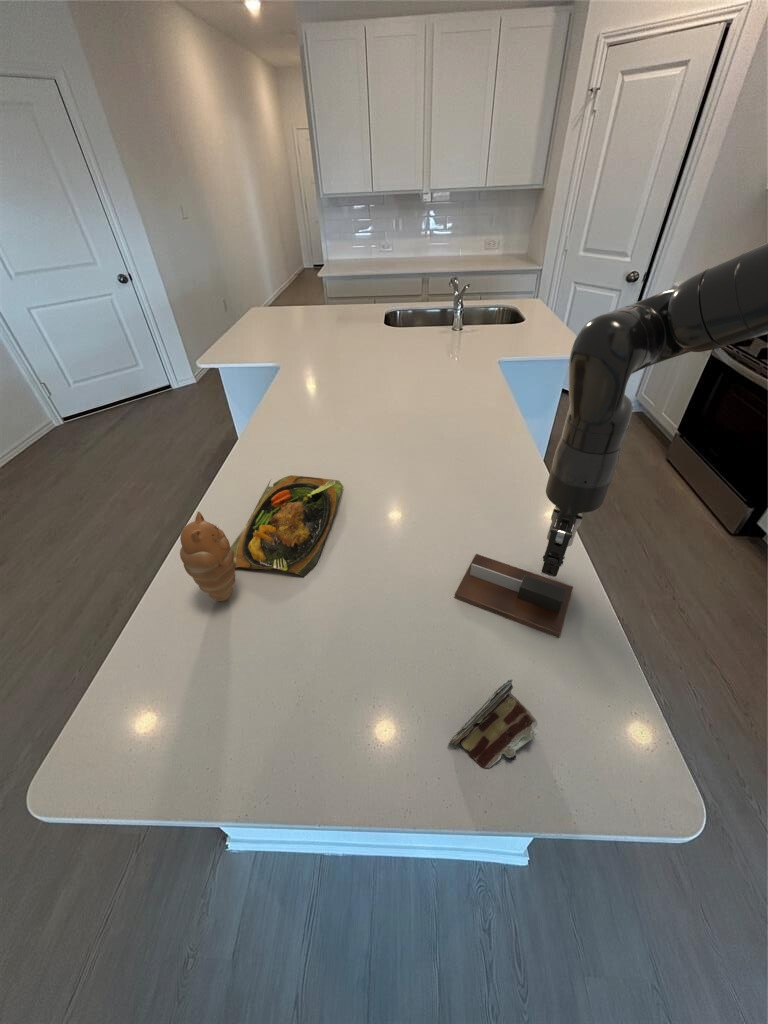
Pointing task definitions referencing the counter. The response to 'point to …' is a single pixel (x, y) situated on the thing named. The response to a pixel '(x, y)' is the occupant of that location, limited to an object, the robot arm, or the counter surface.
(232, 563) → the cat ice cream
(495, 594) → the board
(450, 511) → the counter surface
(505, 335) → the counter surface
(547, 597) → the knife
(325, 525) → the prepared meal
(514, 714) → the chocolate cake
